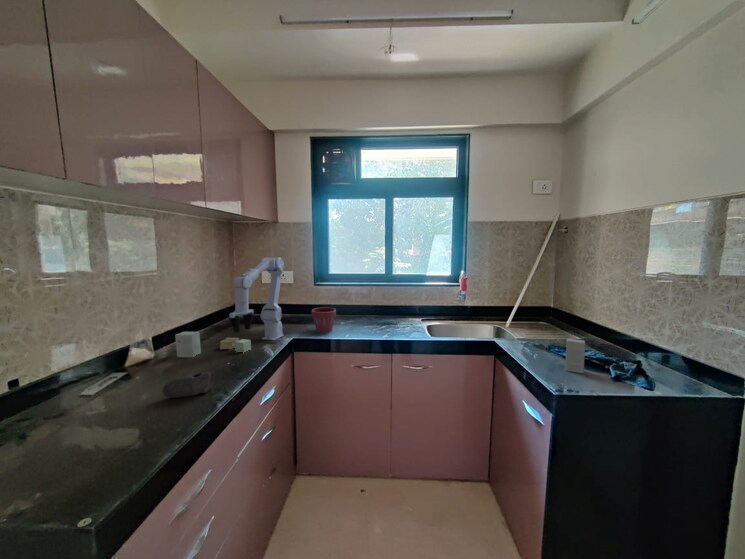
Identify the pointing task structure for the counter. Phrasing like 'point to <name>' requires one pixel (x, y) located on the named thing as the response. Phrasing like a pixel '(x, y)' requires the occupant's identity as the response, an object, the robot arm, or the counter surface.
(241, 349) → the sage cube
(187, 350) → the small box
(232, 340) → the slab top
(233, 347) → the slab bottom
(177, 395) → the perforated stone tool
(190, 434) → the counter surface
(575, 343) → the skincare box
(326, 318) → the plant pot
